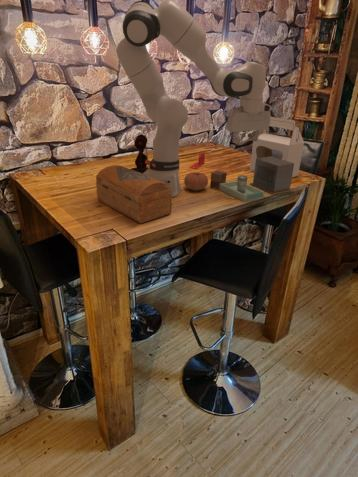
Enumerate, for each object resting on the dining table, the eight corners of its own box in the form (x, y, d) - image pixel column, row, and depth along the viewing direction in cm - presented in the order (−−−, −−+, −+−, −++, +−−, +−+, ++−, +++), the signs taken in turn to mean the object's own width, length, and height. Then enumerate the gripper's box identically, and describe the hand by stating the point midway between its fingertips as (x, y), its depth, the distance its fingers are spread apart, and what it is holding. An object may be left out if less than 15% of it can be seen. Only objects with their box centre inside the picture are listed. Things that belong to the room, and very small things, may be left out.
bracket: (196, 164, 201) (197, 150, 197) (204, 165, 199) (205, 151, 195) (188, 169, 191) (189, 154, 187) (196, 170, 189) (197, 155, 186)
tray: (244, 202, 148) (245, 195, 147) (219, 189, 162) (219, 183, 161) (264, 198, 153) (264, 191, 152) (237, 186, 167) (238, 180, 166)
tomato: (209, 187, 165) (210, 170, 161) (204, 194, 156) (205, 177, 152) (187, 184, 167) (188, 168, 164) (181, 191, 158) (181, 174, 155)
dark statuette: (155, 181, 170) (155, 139, 161) (125, 181, 170) (123, 138, 161) (157, 173, 183) (157, 133, 174) (128, 172, 183) (127, 132, 174)
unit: (273, 195, 157) (277, 166, 151) (249, 184, 169) (252, 158, 164) (292, 191, 163) (297, 163, 157) (268, 181, 175) (272, 155, 169)
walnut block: (218, 189, 162) (219, 174, 159) (210, 187, 165) (211, 172, 162) (225, 187, 165) (226, 172, 162) (217, 184, 168) (218, 170, 165)
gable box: (249, 170, 192) (255, 116, 179) (263, 166, 200) (271, 114, 187) (284, 180, 177) (293, 122, 165) (298, 175, 185) (308, 120, 172)
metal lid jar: (240, 194, 155) (241, 178, 152) (234, 191, 158) (235, 175, 155) (247, 192, 157) (249, 177, 153) (241, 189, 160) (243, 174, 157)
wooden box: (174, 213, 136) (174, 178, 130) (138, 224, 126) (137, 187, 120) (130, 192, 156) (129, 161, 150) (97, 200, 146) (94, 167, 140)
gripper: (235, 108, 134) (231, 145, 140) (274, 106, 144) (269, 141, 150) (225, 106, 139) (221, 142, 145) (264, 105, 148) (259, 138, 155)
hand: (246, 141), depth 147 cm, fingers open, 8 cm apart
